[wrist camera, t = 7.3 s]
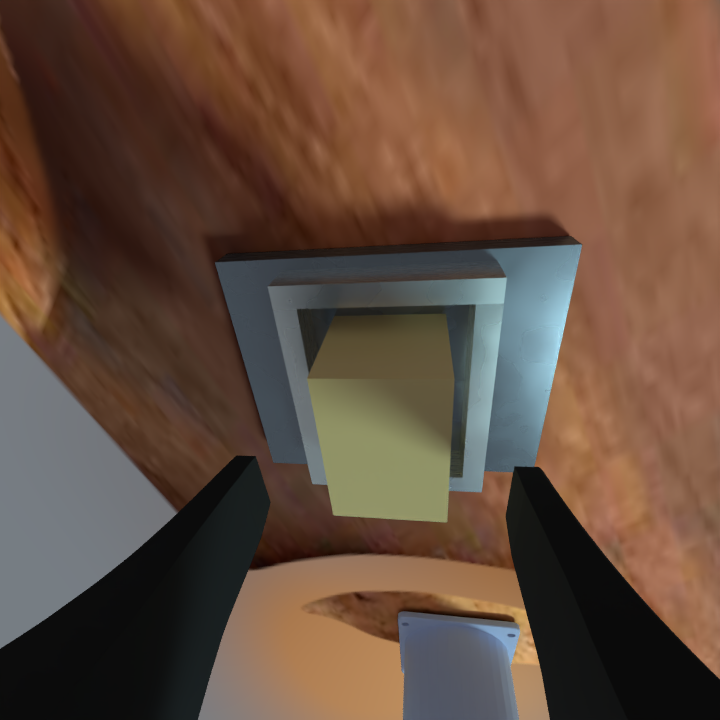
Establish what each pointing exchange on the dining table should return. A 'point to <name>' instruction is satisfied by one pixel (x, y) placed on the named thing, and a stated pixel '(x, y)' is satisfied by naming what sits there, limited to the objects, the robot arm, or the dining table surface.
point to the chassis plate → (402, 297)
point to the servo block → (385, 415)
